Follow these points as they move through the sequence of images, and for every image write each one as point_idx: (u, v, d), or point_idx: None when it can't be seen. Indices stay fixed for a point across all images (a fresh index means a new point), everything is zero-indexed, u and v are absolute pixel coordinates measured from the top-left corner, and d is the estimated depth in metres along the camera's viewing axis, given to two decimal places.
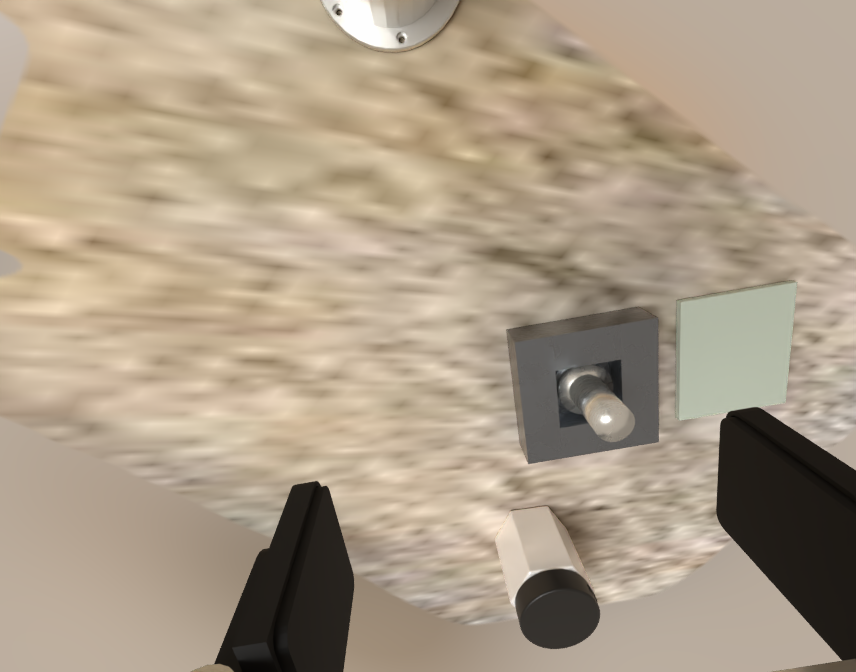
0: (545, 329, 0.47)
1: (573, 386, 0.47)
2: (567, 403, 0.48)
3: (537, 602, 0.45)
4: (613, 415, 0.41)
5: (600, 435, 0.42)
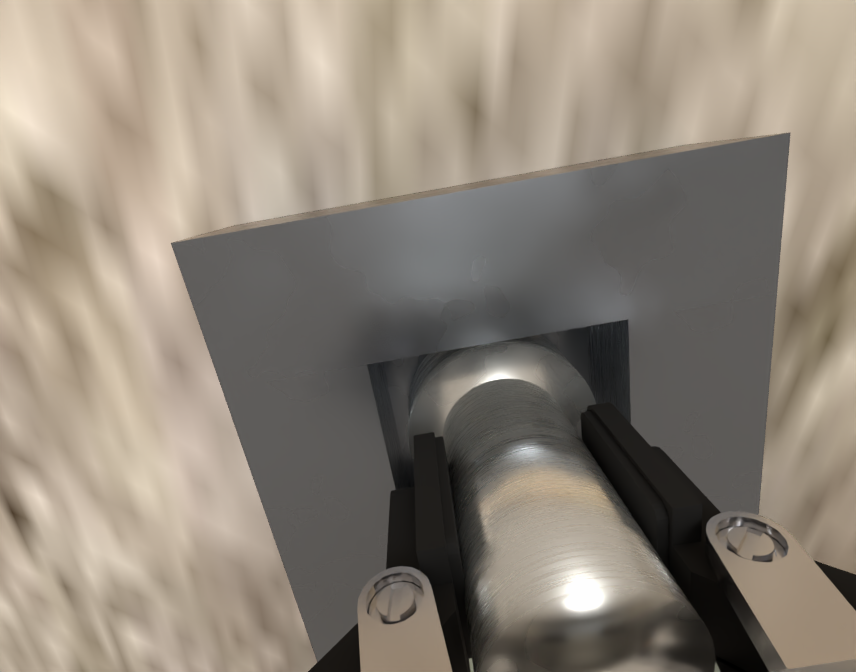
0: None
1: (540, 393, 0.12)
2: (455, 380, 0.13)
3: None
4: (658, 665, 0.07)
5: (529, 624, 0.07)
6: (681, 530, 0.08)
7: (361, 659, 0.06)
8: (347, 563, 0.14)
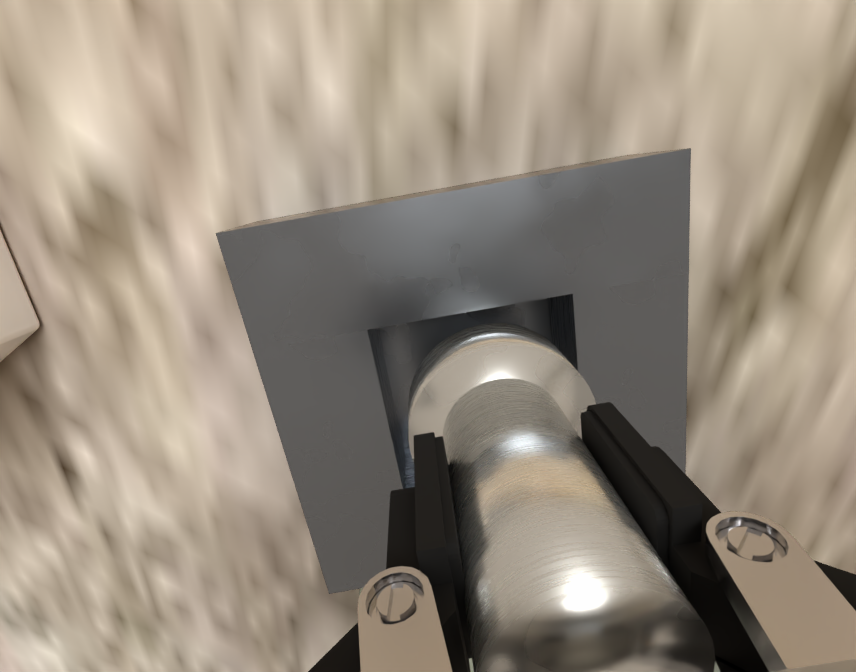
0: None
1: (540, 393, 0.12)
2: (455, 379, 0.13)
3: None
4: (657, 665, 0.07)
5: (529, 624, 0.07)
6: (681, 530, 0.08)
7: (361, 659, 0.06)
8: (351, 497, 0.17)
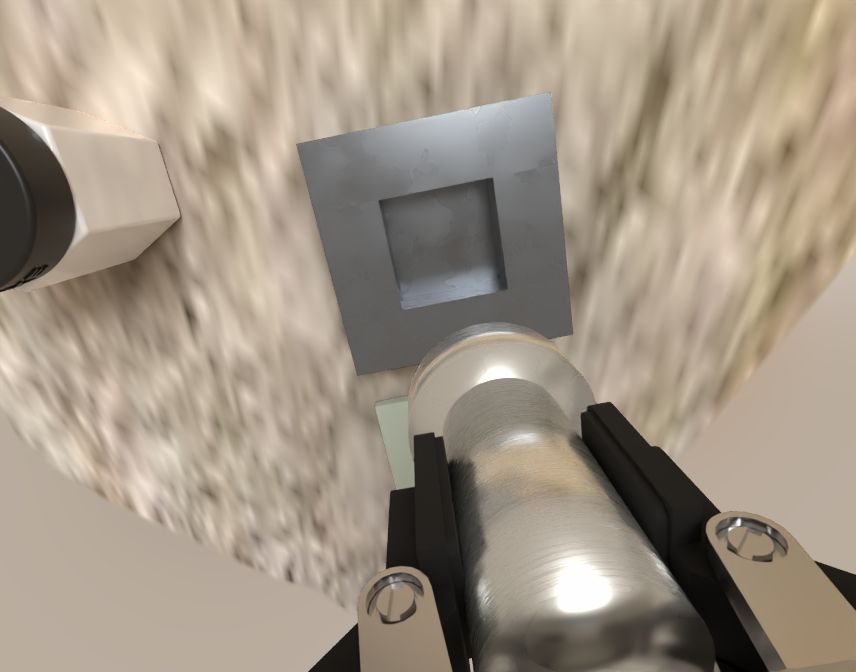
0: None
1: (540, 392, 0.12)
2: (455, 378, 0.13)
3: None
4: (658, 663, 0.07)
5: (528, 622, 0.06)
6: (681, 530, 0.08)
7: (361, 659, 0.06)
8: (370, 308, 0.28)
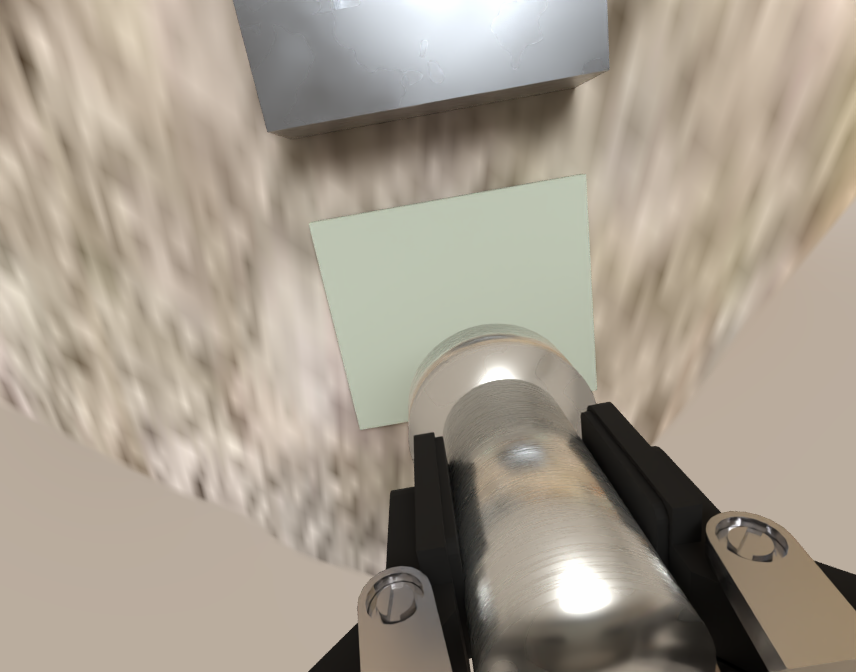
0: None
1: (540, 393, 0.12)
2: (455, 380, 0.13)
3: None
4: (658, 667, 0.07)
5: (529, 626, 0.06)
6: (681, 530, 0.08)
7: (361, 659, 0.06)
8: (282, 2, 0.17)
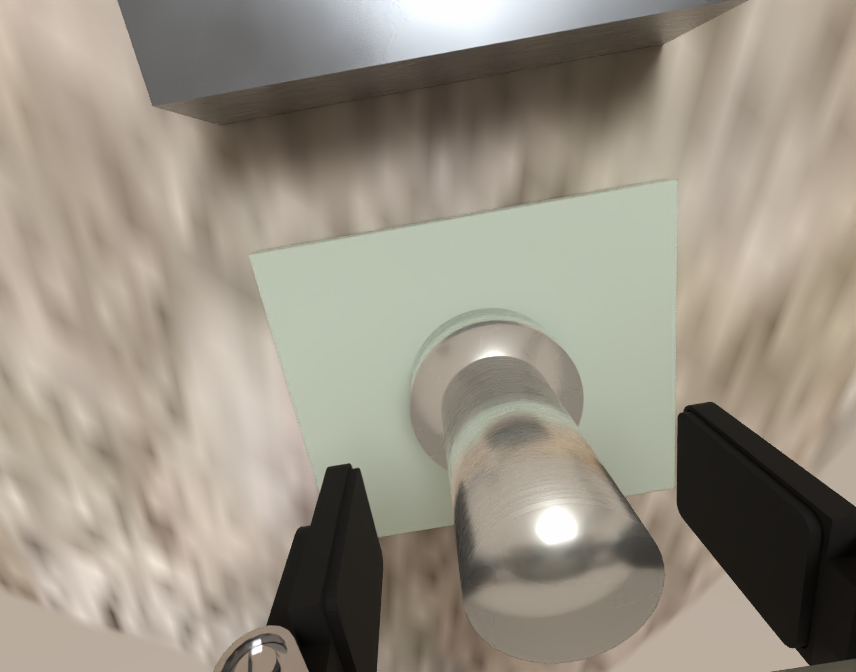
0: None
1: (529, 368, 0.14)
2: (453, 356, 0.14)
3: None
4: (615, 577, 0.08)
5: (506, 535, 0.08)
6: (838, 543, 0.07)
7: None
8: None
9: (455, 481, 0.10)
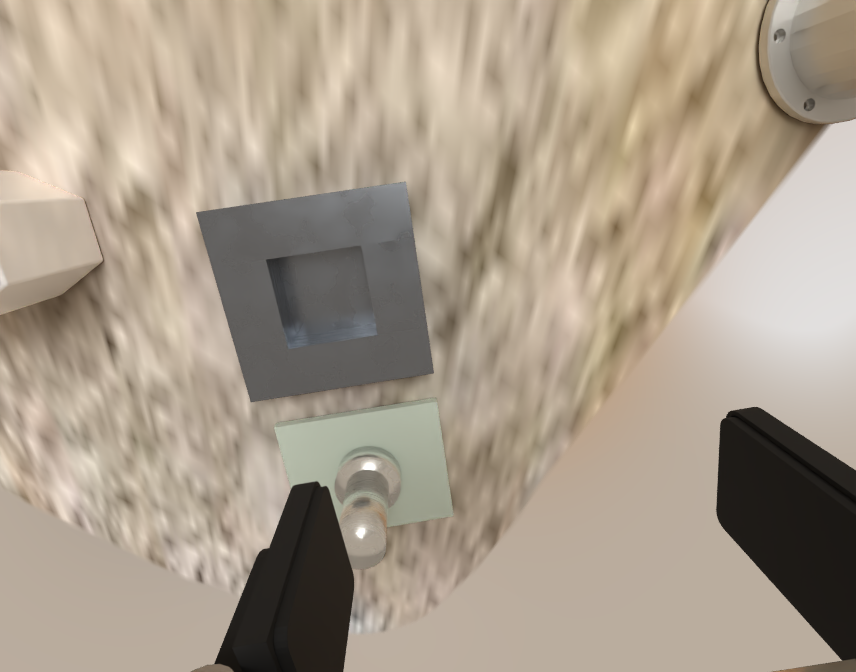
0: None
1: (377, 476, 0.38)
2: (351, 468, 0.39)
3: None
4: (373, 546, 0.33)
5: (345, 534, 0.32)
6: None
7: None
8: (260, 346, 0.34)
9: (340, 518, 0.35)
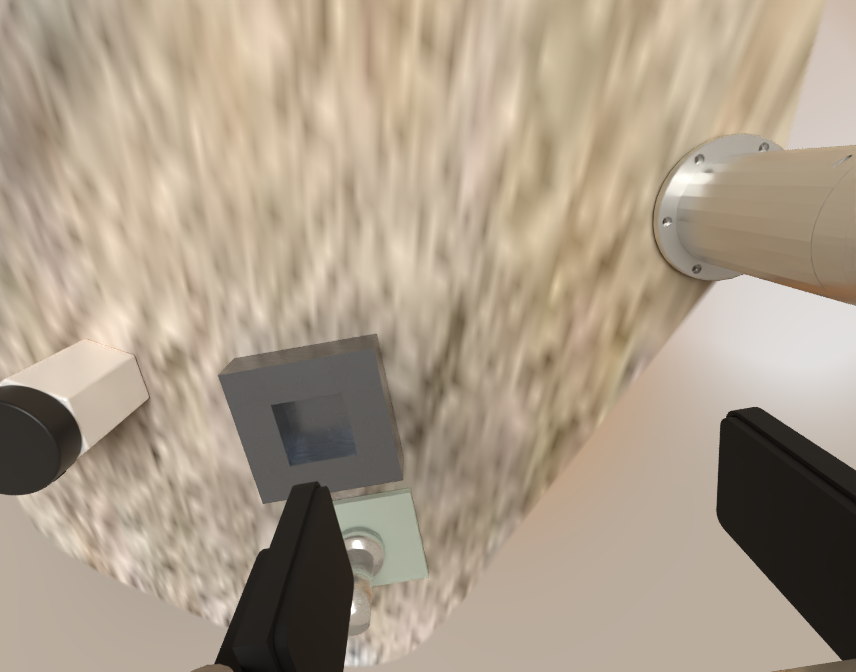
0: (383, 376, 0.44)
1: (365, 554, 0.49)
2: None
3: (26, 418, 0.33)
4: (360, 620, 0.43)
5: None
6: None
7: None
8: (269, 464, 0.44)
9: None
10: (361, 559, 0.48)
